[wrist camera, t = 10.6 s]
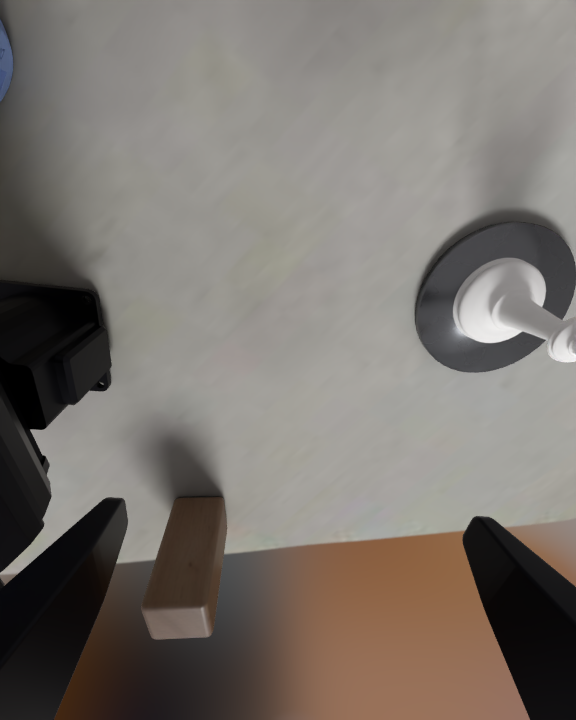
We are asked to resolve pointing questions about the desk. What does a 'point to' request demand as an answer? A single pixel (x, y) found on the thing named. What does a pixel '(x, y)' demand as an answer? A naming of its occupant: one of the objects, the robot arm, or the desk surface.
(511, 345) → the carrier plate
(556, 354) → the chess piece
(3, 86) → the decorative dice
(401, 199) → the desk surface
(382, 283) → the desk surface
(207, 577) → the wooden block
